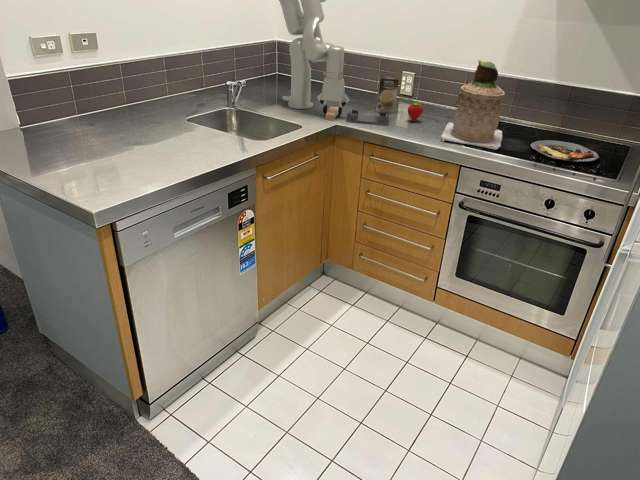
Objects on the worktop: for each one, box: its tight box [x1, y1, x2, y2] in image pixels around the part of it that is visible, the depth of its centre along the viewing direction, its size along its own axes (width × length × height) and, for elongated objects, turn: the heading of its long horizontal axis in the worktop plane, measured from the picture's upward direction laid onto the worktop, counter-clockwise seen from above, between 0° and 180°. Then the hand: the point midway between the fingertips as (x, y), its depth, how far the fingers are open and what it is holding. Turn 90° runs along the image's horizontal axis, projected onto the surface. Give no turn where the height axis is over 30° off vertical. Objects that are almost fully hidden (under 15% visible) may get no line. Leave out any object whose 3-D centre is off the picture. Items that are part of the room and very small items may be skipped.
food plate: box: [530, 139, 600, 163], centre depth 196 cm, size 25×23×4 cm
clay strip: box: [324, 106, 339, 122], centre depth 229 cm, size 4×14×3 cm, turn 169°
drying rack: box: [345, 109, 390, 127], centre depth 224 cm, size 19×10×4 cm, turn 80°
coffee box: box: [375, 75, 400, 114], centre depth 237 cm, size 9×6×16 cm
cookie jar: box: [440, 59, 506, 151], centre depth 202 cm, size 25×25×32 cm
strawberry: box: [407, 99, 424, 122], centre depth 225 cm, size 6×8×10 cm
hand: (332, 114), depth 229 cm, fingers open, 5 cm apart
